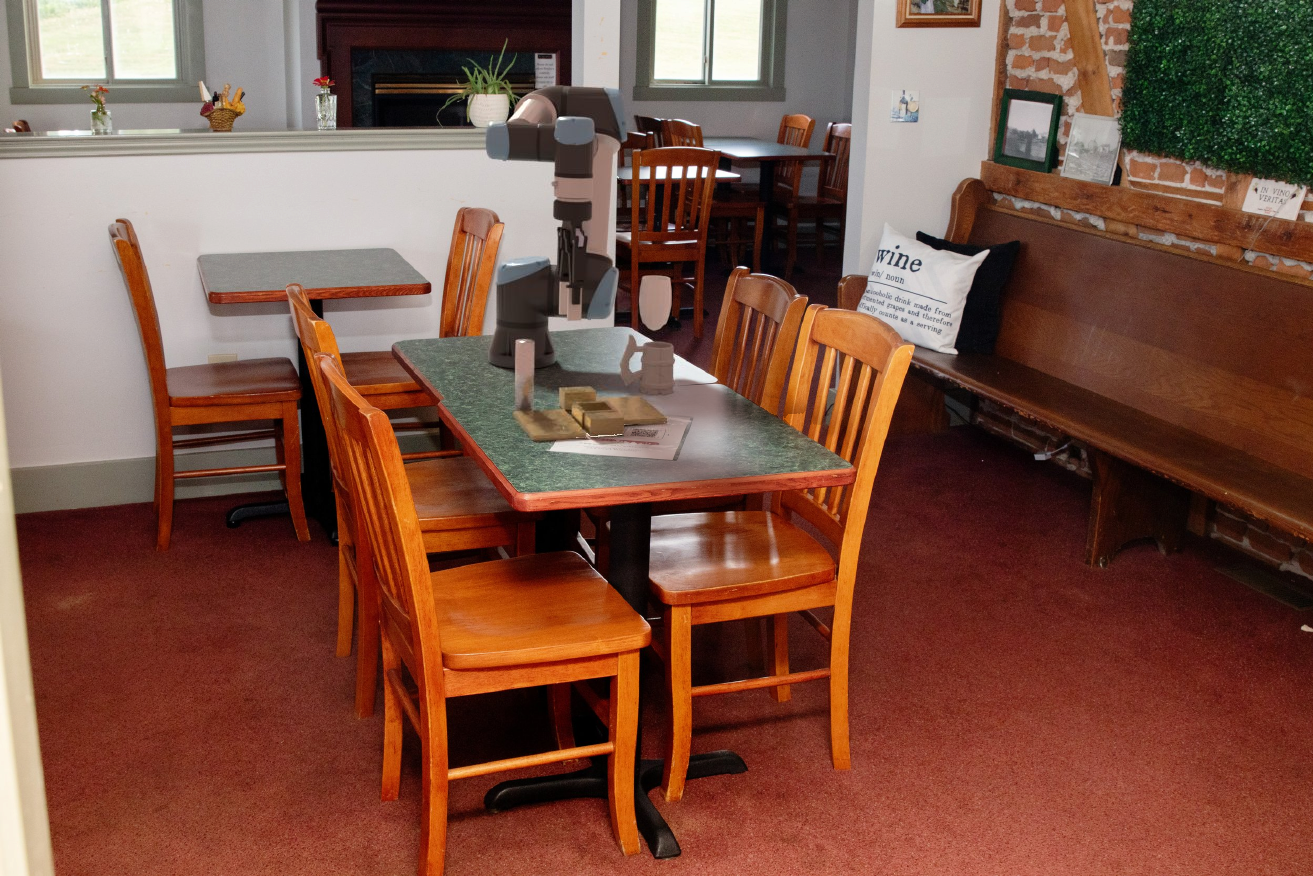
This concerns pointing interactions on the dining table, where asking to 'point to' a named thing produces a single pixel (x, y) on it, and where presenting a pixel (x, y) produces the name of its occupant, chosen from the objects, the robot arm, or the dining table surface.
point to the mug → (650, 366)
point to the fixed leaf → (571, 421)
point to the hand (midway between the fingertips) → (569, 316)
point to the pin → (524, 375)
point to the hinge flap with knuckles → (614, 405)
